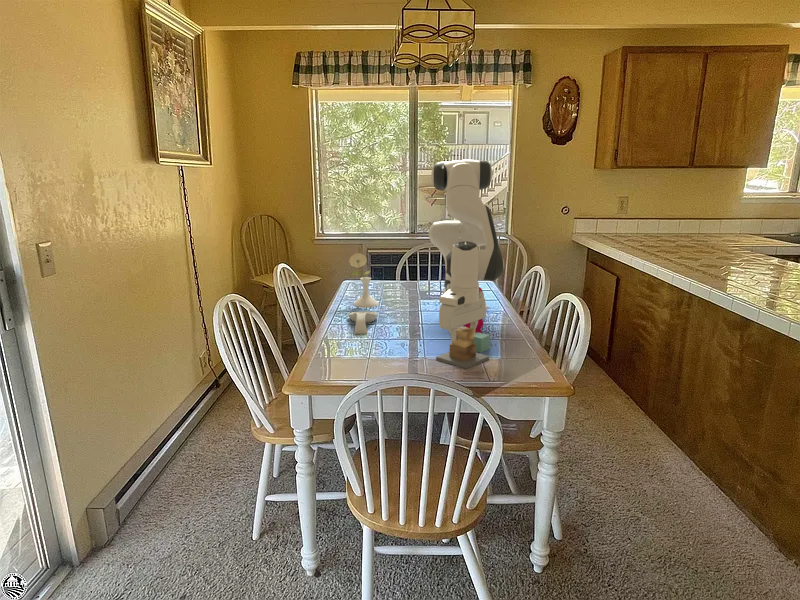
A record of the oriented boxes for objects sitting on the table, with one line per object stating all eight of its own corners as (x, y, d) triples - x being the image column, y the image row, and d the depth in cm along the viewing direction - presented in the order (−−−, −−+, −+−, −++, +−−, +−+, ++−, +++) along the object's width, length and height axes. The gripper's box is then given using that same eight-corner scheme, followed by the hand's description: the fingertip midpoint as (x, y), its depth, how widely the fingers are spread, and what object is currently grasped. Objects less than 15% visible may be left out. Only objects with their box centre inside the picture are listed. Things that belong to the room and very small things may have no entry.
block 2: (477, 346, 175) (477, 332, 174) (489, 349, 172) (489, 335, 171) (468, 349, 172) (469, 335, 171) (480, 352, 168) (481, 338, 167)
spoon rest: (349, 319, 210) (349, 302, 208) (377, 318, 210) (377, 302, 209) (345, 336, 187) (345, 317, 185) (377, 336, 187) (377, 317, 186)
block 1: (461, 341, 164) (461, 326, 163) (473, 344, 161) (474, 329, 160) (451, 344, 161) (452, 329, 160) (464, 348, 157) (465, 332, 156)
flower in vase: (380, 305, 231) (379, 251, 226) (376, 311, 220) (376, 255, 215) (352, 305, 233) (350, 251, 227) (347, 311, 222) (345, 254, 216)
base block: (460, 352, 166) (461, 340, 165) (475, 356, 162) (476, 344, 161) (449, 356, 162) (449, 344, 161) (464, 361, 158) (464, 348, 157)
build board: (458, 350, 170) (459, 347, 170) (488, 359, 162) (489, 356, 162) (436, 359, 162) (436, 356, 162) (466, 369, 154) (466, 365, 154)
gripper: (475, 287, 167) (474, 328, 170) (435, 298, 152) (435, 342, 155) (491, 290, 162) (490, 331, 166) (452, 301, 148) (451, 346, 151)
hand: (463, 337), depth 160 cm, fingers open, 8 cm apart
